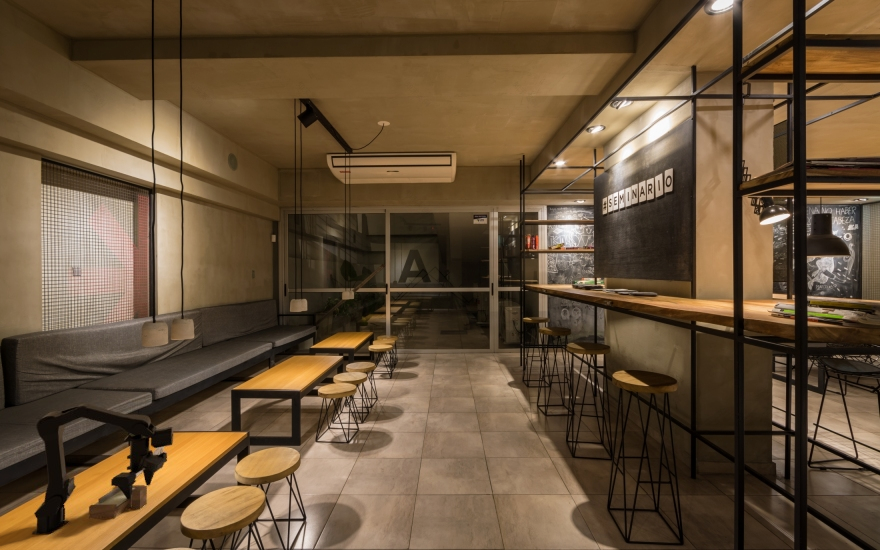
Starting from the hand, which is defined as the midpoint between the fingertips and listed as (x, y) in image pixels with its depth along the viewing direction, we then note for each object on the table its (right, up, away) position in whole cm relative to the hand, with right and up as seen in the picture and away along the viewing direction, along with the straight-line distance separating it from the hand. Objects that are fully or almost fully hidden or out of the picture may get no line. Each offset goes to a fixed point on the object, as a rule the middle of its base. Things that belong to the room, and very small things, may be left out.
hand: (139, 491), depth 141 cm
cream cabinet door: (-8, -2, 0) cm, 8 cm away
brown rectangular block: (0, -6, 0) cm, 6 cm away
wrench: (-19, -7, +27) cm, 34 cm away
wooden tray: (-8, -6, 0) cm, 10 cm away
